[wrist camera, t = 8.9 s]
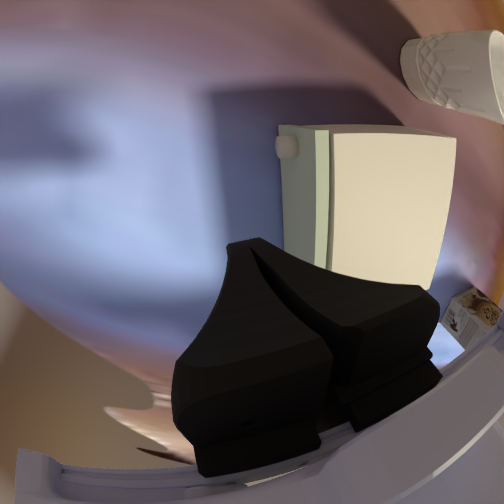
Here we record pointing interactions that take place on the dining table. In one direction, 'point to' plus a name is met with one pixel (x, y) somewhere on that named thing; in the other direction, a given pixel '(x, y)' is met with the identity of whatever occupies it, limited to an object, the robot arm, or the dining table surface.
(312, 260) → the door
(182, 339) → the dining table surface
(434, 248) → the cabinet
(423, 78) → the white cup
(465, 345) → the coffee box
